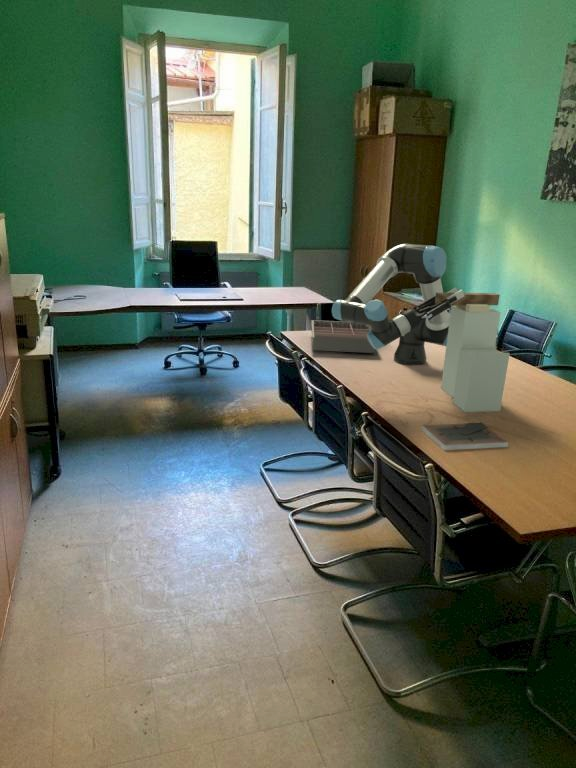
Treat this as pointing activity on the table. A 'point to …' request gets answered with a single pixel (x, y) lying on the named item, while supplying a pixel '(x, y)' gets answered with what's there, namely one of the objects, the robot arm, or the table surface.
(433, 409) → the table surface
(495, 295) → the walnut batten
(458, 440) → the picture frame
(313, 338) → the organizer tray
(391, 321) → the robot arm
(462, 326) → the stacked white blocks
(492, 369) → the pale grey rectangular block
